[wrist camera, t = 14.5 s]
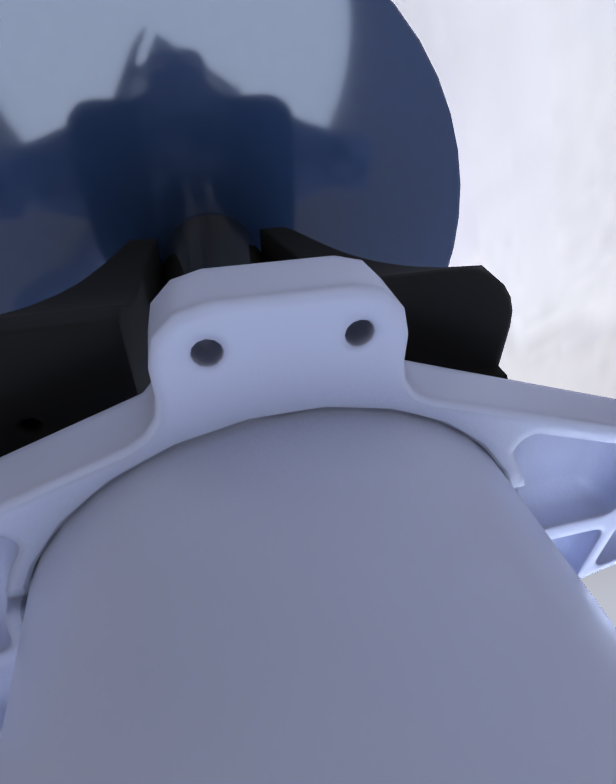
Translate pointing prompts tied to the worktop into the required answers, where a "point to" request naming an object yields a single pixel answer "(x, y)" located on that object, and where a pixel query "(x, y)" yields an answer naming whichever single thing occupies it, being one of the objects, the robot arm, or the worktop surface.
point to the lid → (216, 136)
